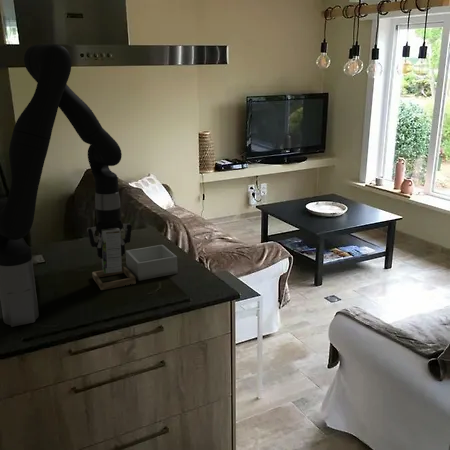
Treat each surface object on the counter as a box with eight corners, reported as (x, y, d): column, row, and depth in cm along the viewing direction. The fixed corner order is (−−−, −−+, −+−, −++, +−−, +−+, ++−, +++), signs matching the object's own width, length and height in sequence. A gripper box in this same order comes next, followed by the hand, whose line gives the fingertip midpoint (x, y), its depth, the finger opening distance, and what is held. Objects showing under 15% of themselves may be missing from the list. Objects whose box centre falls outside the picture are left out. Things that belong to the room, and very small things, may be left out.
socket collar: (135, 283, 167) (135, 277, 166) (101, 290, 162) (100, 284, 162) (125, 271, 176) (125, 266, 176) (92, 277, 172) (92, 272, 171)
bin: (177, 273, 175) (177, 256, 173) (138, 280, 169) (137, 263, 167) (163, 260, 187) (162, 244, 185) (126, 266, 181) (125, 250, 179)
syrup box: (101, 267, 170) (98, 225, 166) (119, 265, 172) (117, 223, 168) (104, 274, 165) (101, 230, 160) (123, 271, 167) (120, 228, 162)
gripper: (128, 201, 168) (131, 250, 173) (82, 205, 163) (86, 255, 168) (133, 206, 161) (136, 257, 166) (86, 211, 156) (90, 263, 161)
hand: (111, 256), depth 167 cm, fingers closed on syrup box, 6 cm apart
